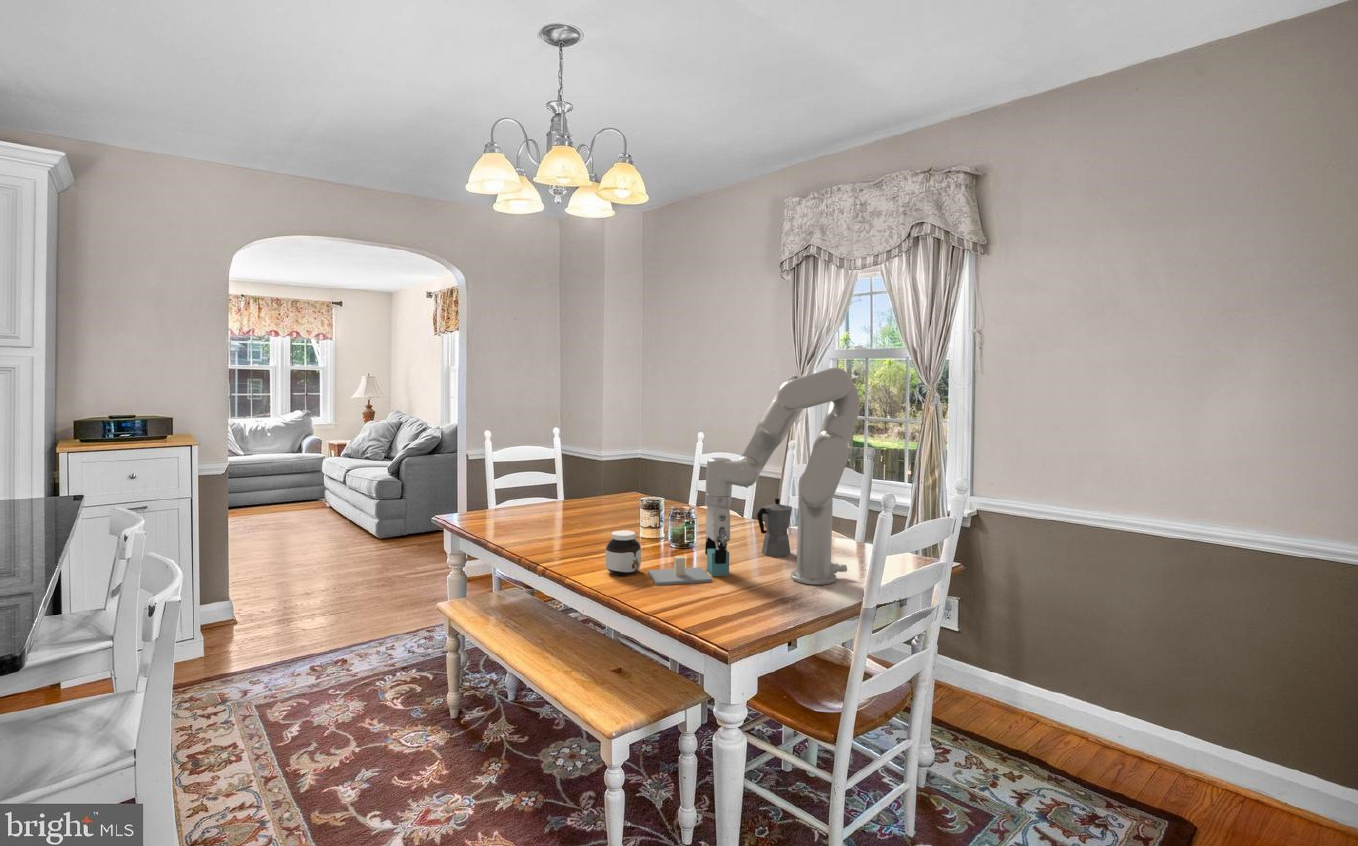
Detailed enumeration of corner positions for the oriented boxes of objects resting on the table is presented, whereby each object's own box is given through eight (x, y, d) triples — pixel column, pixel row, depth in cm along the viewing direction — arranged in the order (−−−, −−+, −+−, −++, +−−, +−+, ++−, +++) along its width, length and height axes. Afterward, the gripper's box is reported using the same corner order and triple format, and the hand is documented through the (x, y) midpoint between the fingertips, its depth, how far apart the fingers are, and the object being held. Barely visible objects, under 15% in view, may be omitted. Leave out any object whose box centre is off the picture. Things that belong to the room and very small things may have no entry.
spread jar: (619, 578, 197) (619, 538, 197) (593, 570, 205) (593, 531, 204) (649, 570, 206) (650, 531, 205) (623, 563, 214) (623, 525, 213)
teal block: (723, 569, 207) (724, 547, 207) (729, 574, 202) (729, 552, 202) (706, 570, 206) (707, 548, 206) (711, 575, 201) (712, 553, 201)
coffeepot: (779, 547, 235) (780, 494, 234) (800, 553, 228) (802, 498, 226) (746, 554, 225) (747, 499, 224) (767, 561, 218) (769, 503, 217)
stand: (700, 569, 207) (701, 550, 207) (712, 581, 196) (712, 561, 195) (647, 572, 203) (647, 553, 203) (656, 585, 192) (656, 564, 191)
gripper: (740, 506, 195) (736, 566, 197) (721, 495, 212) (718, 550, 213) (714, 506, 193) (711, 567, 195) (697, 495, 210) (695, 551, 212)
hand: (715, 558), depth 204 cm, fingers open, 9 cm apart
